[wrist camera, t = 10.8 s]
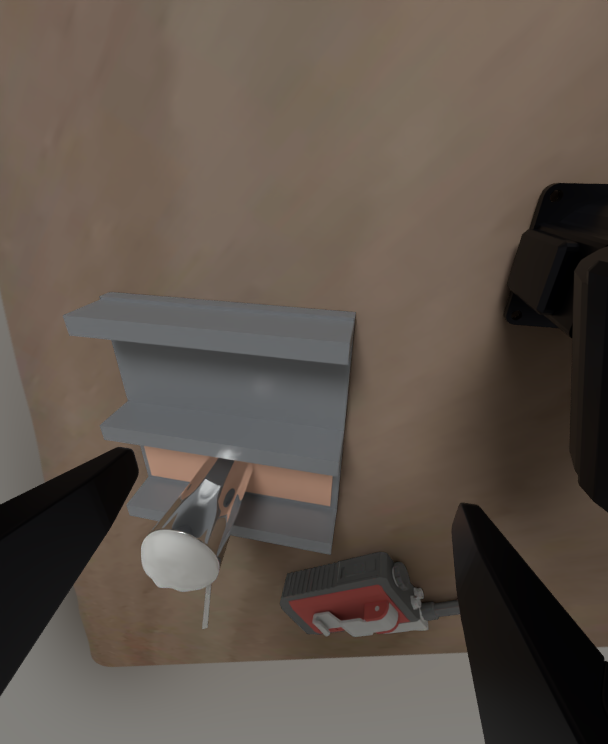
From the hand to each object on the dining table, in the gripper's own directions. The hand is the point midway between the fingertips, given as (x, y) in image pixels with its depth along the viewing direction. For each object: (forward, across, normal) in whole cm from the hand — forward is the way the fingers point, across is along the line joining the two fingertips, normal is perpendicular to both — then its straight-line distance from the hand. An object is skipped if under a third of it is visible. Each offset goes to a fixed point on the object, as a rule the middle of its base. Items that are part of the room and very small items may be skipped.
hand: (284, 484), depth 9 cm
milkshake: (+12, +7, +12) cm, 18 cm away
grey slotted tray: (+13, +7, +8) cm, 17 cm away
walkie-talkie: (+14, -6, +25) cm, 29 cm away
